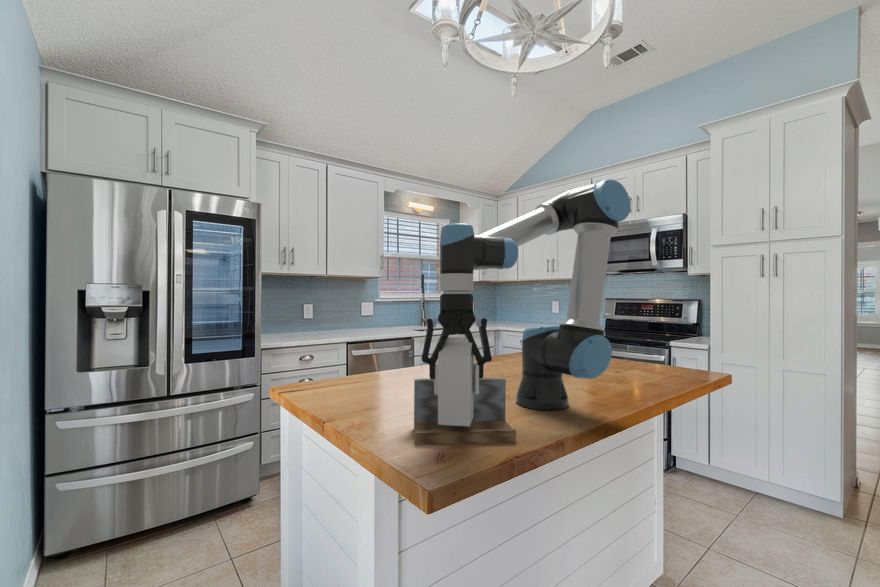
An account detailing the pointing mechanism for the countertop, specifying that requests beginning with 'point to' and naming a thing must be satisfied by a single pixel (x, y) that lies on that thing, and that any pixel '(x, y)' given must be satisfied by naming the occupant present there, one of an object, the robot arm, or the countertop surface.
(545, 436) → the countertop surface
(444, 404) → the milk carton
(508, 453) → the countertop surface
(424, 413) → the wall board
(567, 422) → the countertop surface
